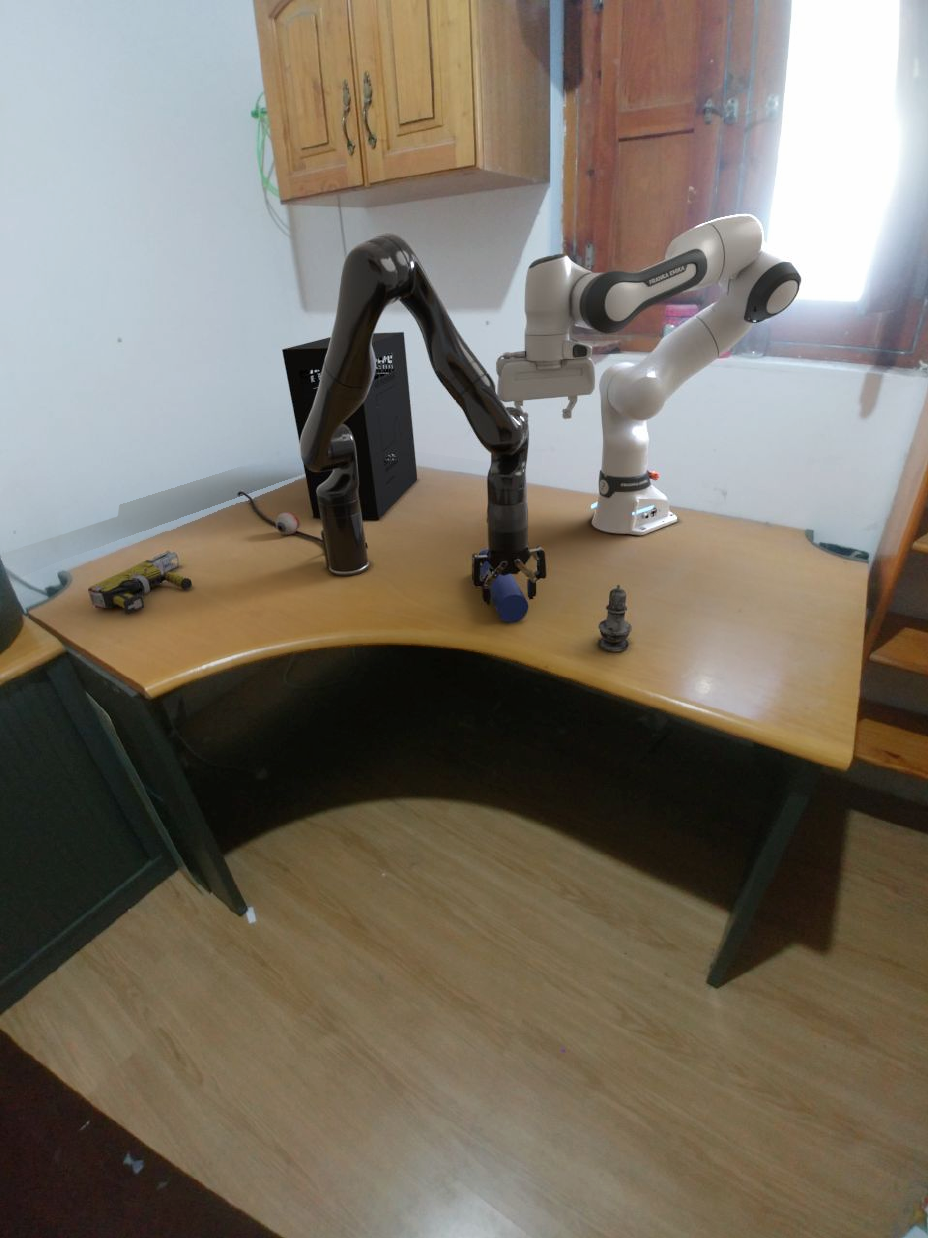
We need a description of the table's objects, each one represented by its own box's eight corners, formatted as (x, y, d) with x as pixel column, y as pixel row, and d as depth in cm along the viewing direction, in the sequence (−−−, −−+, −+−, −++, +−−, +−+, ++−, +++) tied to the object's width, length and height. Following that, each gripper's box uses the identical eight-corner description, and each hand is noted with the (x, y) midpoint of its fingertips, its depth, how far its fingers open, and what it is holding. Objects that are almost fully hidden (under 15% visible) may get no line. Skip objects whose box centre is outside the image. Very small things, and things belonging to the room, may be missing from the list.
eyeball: (273, 537, 164) (268, 516, 161) (287, 528, 169) (282, 508, 166) (291, 539, 161) (286, 518, 158) (305, 530, 166) (301, 510, 163)
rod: (476, 574, 137) (474, 549, 134) (502, 571, 138) (501, 546, 135) (497, 624, 118) (497, 596, 115) (528, 620, 118) (528, 592, 115)
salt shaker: (630, 653, 106) (637, 593, 100) (596, 651, 107) (601, 591, 101) (629, 636, 111) (635, 577, 105) (597, 634, 112) (601, 576, 106)
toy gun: (215, 559, 144) (165, 548, 148) (137, 602, 124) (81, 588, 128) (218, 577, 147) (168, 566, 151) (142, 621, 127) (87, 607, 131)
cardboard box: (378, 519, 171) (356, 347, 149) (313, 517, 176) (282, 349, 153) (417, 479, 203) (403, 331, 180) (361, 478, 207) (341, 334, 185)
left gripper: (473, 534, 107) (477, 614, 115) (550, 525, 108) (549, 604, 116) (466, 520, 113) (470, 596, 121) (539, 512, 115) (539, 587, 123)
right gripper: (499, 354, 117) (500, 427, 124) (600, 346, 120) (596, 418, 126) (492, 351, 122) (494, 421, 129) (589, 343, 125) (585, 413, 132)
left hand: (509, 600), depth 119 cm, fingers open, 8 cm apart
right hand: (545, 420), depth 128 cm, fingers open, 8 cm apart
